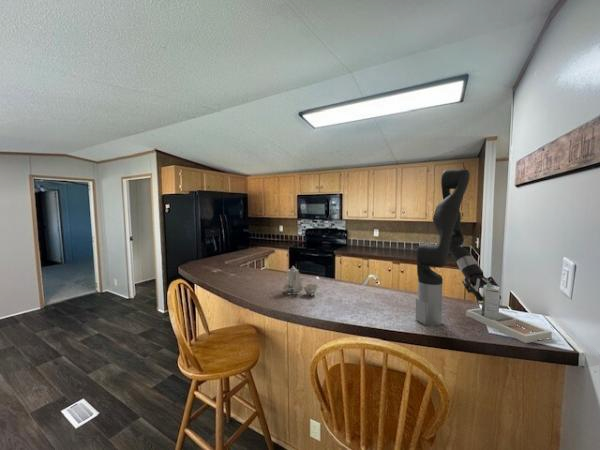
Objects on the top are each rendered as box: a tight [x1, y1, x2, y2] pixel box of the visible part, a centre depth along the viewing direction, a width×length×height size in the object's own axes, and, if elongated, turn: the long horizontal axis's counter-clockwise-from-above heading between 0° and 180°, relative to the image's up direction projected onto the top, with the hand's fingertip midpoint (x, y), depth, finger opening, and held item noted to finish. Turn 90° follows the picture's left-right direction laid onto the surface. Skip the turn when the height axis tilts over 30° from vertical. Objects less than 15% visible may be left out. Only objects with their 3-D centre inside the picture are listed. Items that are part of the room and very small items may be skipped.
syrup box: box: [481, 284, 501, 320], centre depth 109 cm, size 6×6×14 cm
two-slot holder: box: [465, 307, 553, 344], centre depth 103 cm, size 12×24×3 cm, turn 13°
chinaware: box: [283, 265, 319, 297], centre depth 150 cm, size 28×17×17 cm, turn 34°
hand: (490, 300), depth 109 cm, fingers open, 8 cm apart
